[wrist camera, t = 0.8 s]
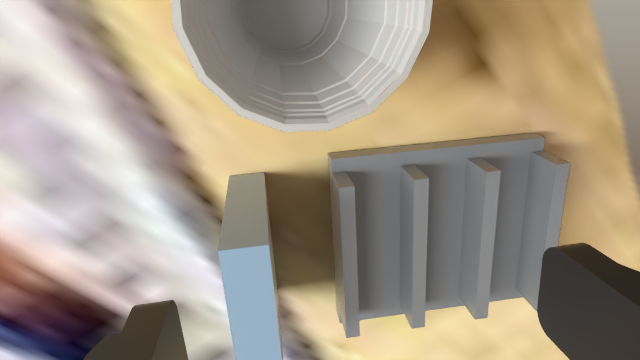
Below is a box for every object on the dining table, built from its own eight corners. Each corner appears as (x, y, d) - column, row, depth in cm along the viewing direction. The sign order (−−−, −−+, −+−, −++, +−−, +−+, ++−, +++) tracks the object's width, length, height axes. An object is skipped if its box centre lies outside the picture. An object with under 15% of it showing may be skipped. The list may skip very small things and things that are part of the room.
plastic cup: (310, 122, 31) (340, 181, 20) (170, 31, 28) (114, 41, 17) (403, -14, 29) (495, -33, 18) (262, -131, 26) (267, -244, 14)
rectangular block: (229, 175, 32) (217, 251, 22) (264, 172, 32) (268, 244, 22) (246, 292, 35) (242, 404, 25) (277, 288, 36) (286, 397, 25)
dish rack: (327, 153, 32) (338, 173, 28) (533, 132, 34) (572, 149, 30) (336, 311, 37) (347, 348, 33) (515, 286, 39) (546, 319, 35)
